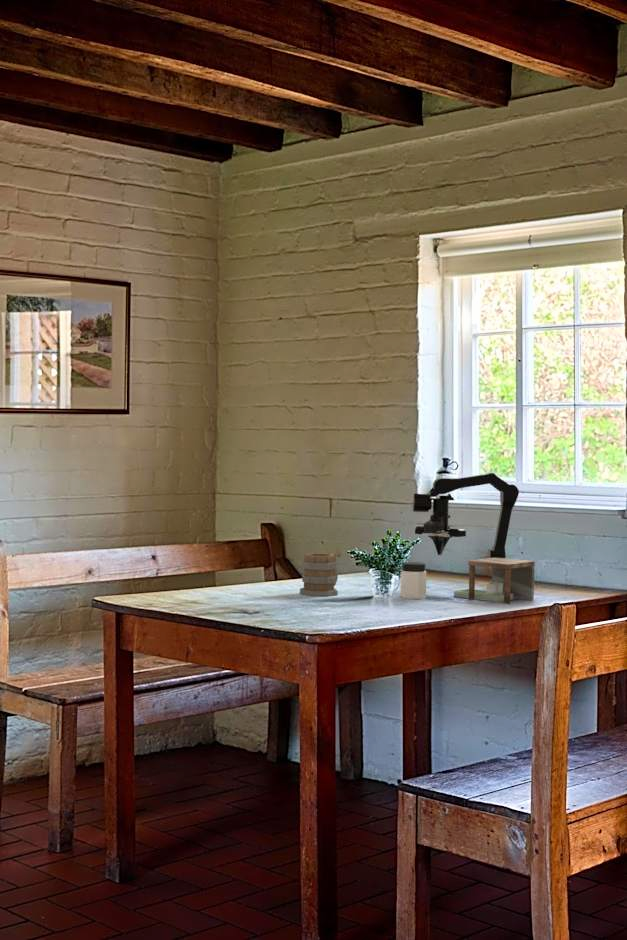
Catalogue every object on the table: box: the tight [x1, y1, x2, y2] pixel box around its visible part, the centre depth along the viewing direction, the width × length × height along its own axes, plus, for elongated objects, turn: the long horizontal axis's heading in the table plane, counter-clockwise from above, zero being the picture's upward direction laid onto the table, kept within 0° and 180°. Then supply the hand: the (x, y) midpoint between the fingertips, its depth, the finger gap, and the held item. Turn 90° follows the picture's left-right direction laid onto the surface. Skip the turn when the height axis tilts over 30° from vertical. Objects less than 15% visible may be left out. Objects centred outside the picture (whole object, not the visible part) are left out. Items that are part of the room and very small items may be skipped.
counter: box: [467, 557, 536, 605], centre depth 446 cm, size 18×16×14 cm
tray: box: [453, 582, 514, 603], centre depth 450 cm, size 10×18×6 cm, turn 51°
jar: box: [399, 561, 427, 600], centre depth 446 cm, size 9×8×12 cm
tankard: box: [299, 549, 343, 598], centre depth 452 cm, size 20×13×15 cm, turn 143°
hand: (439, 554), depth 469 cm, fingers closed
